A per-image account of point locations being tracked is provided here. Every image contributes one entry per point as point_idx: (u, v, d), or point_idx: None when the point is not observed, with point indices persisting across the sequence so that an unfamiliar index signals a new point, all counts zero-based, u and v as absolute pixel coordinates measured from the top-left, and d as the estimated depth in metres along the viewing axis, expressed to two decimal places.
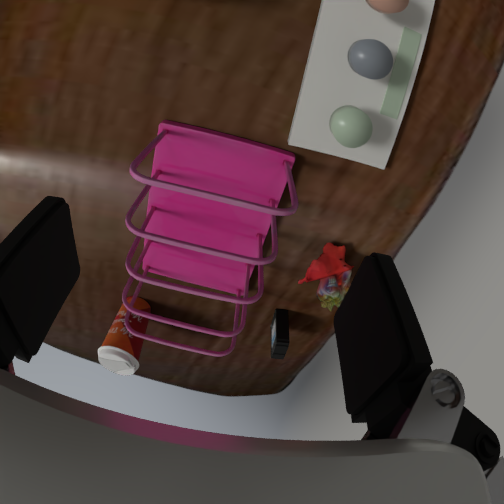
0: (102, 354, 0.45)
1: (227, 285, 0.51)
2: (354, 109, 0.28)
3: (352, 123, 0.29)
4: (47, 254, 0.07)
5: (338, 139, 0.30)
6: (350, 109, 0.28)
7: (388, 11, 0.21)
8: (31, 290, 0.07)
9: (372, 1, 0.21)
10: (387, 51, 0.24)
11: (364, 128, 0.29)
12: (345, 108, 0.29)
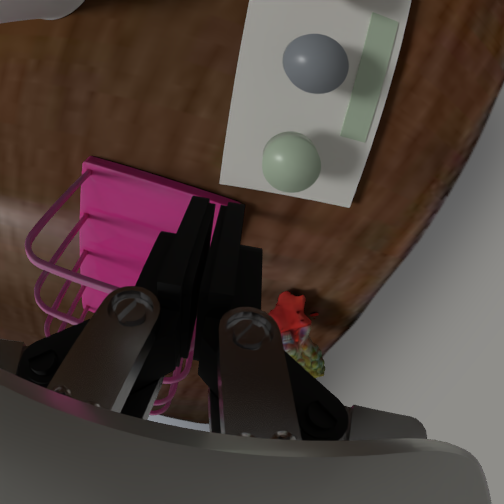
0: None
1: None
2: (292, 139, 0.21)
3: (290, 159, 0.22)
4: (205, 254, 0.09)
5: (272, 182, 0.23)
6: (286, 140, 0.21)
7: None
8: (197, 291, 0.08)
9: None
10: (339, 50, 0.17)
11: (308, 165, 0.22)
12: (280, 138, 0.22)
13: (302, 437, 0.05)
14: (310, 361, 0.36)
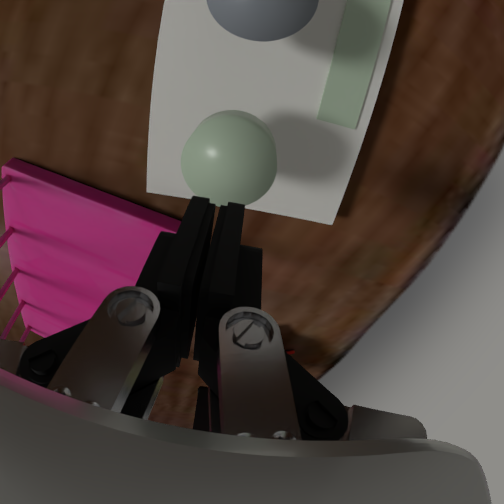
0: None
1: None
2: (226, 121, 0.13)
3: (225, 154, 0.13)
4: (205, 254, 0.09)
5: (199, 192, 0.15)
6: (216, 122, 0.13)
7: None
8: (197, 291, 0.08)
9: None
10: None
11: (256, 162, 0.14)
12: (209, 120, 0.13)
13: (302, 437, 0.05)
14: None
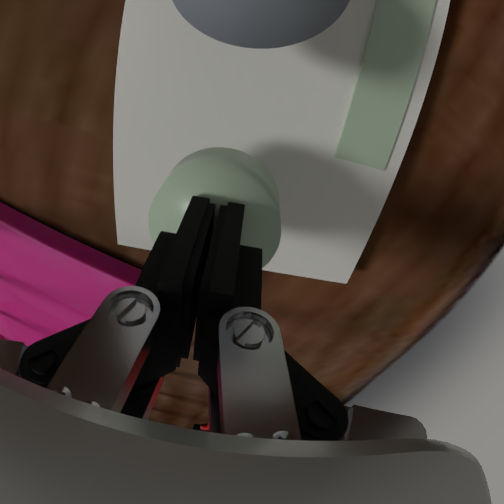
0: None
1: None
2: (207, 170, 0.09)
3: None
4: (205, 254, 0.09)
5: None
6: (193, 172, 0.09)
7: None
8: (197, 291, 0.08)
9: None
10: None
11: (251, 228, 0.10)
12: (184, 167, 0.09)
13: (302, 437, 0.05)
14: None
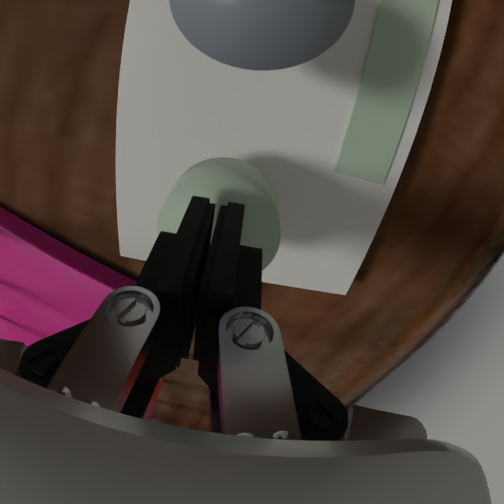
0: None
1: None
2: (213, 179, 0.10)
3: (213, 221, 0.11)
4: (205, 254, 0.09)
5: None
6: (200, 181, 0.10)
7: None
8: (197, 291, 0.08)
9: None
10: None
11: (253, 232, 0.11)
12: (191, 176, 0.10)
13: (302, 437, 0.05)
14: None
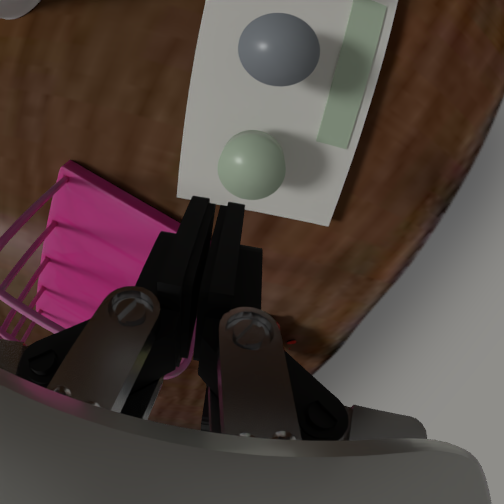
0: None
1: None
2: (251, 138, 0.19)
3: (249, 161, 0.19)
4: (205, 254, 0.09)
5: (229, 188, 0.21)
6: (244, 139, 0.19)
7: None
8: (197, 291, 0.08)
9: None
10: (307, 31, 0.13)
11: (271, 168, 0.20)
12: (238, 137, 0.19)
13: (302, 437, 0.05)
14: None
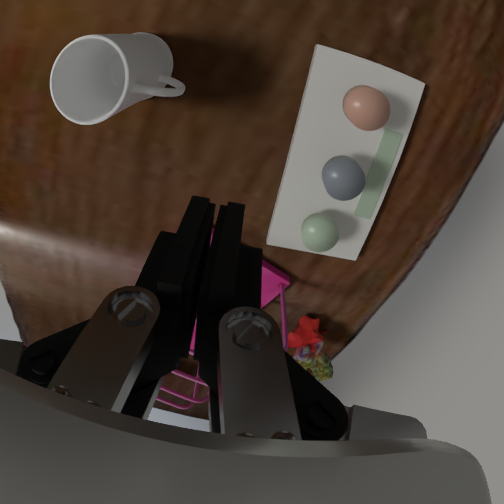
0: None
1: None
2: (322, 221, 0.35)
3: (320, 233, 0.36)
4: (205, 254, 0.09)
5: (307, 246, 0.37)
6: (319, 221, 0.35)
7: (366, 129, 0.27)
8: (197, 291, 0.08)
9: (350, 120, 0.27)
10: (360, 172, 0.30)
11: (331, 236, 0.36)
12: (314, 219, 0.36)
13: (302, 437, 0.05)
14: (323, 367, 0.48)
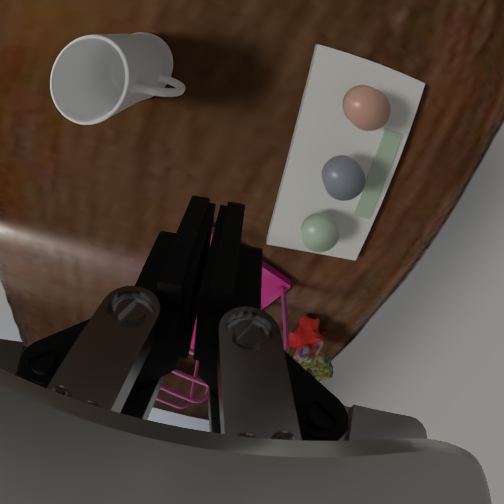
0: None
1: (192, 345, 0.57)
2: (322, 221, 0.35)
3: (320, 233, 0.36)
4: (205, 254, 0.09)
5: (307, 246, 0.37)
6: (319, 221, 0.35)
7: (366, 129, 0.27)
8: (197, 291, 0.08)
9: (350, 120, 0.27)
10: (360, 172, 0.30)
11: (331, 236, 0.36)
12: (315, 219, 0.36)
13: (302, 437, 0.05)
14: (323, 367, 0.48)
